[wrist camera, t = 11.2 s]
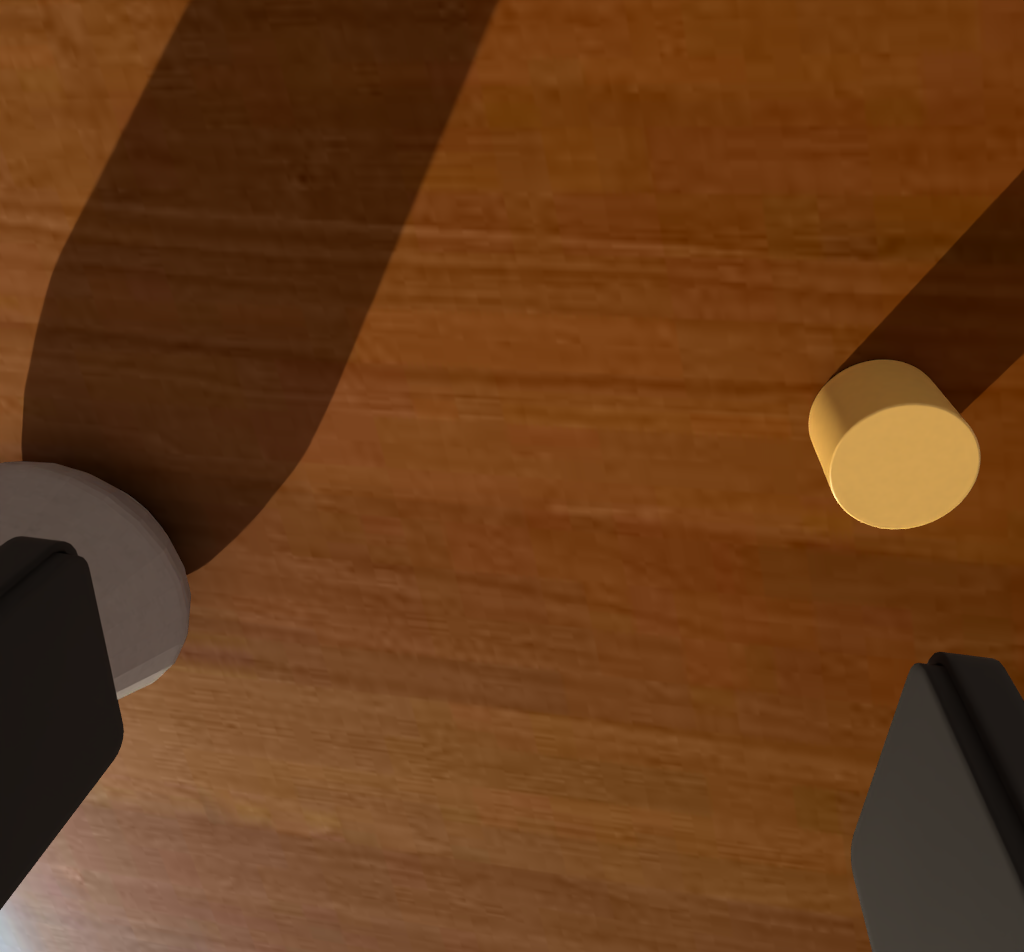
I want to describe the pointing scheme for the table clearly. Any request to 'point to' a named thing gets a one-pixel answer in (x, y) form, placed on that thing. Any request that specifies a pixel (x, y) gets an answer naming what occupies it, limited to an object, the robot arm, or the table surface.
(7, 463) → the coffee pot
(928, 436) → the cylinder
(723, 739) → the table surface
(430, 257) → the table surface
